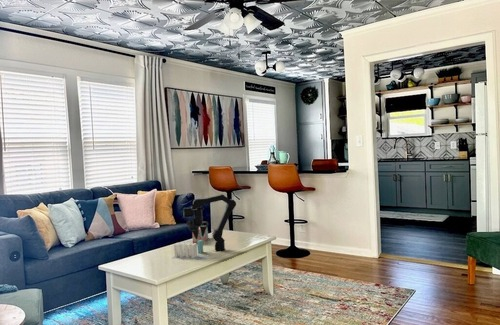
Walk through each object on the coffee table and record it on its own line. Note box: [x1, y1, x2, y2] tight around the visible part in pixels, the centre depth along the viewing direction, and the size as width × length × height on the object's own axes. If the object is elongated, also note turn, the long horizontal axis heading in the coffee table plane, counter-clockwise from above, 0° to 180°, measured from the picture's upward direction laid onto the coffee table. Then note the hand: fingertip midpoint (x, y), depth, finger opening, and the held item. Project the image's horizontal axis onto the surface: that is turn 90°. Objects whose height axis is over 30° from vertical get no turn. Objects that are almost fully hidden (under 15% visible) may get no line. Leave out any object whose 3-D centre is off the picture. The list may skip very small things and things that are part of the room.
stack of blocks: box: [191, 227, 209, 244], centre depth 316 cm, size 21×6×12 cm, turn 169°
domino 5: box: [197, 240, 204, 255], centre depth 277 cm, size 2×5×9 cm, turn 158°
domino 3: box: [185, 242, 192, 258], centre depth 267 cm, size 2×5×9 cm, turn 159°
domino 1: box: [173, 242, 181, 257], centre depth 270 cm, size 2×5×9 cm, turn 158°
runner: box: [171, 254, 211, 261], centre depth 266 cm, size 26×10×1 cm, turn 68°
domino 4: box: [191, 243, 198, 258], centre depth 265 cm, size 2×5×9 cm, turn 159°
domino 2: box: [180, 242, 186, 257], centre depth 269 cm, size 2×5×9 cm, turn 158°
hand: (199, 237), depth 276 cm, fingers open, 9 cm apart
